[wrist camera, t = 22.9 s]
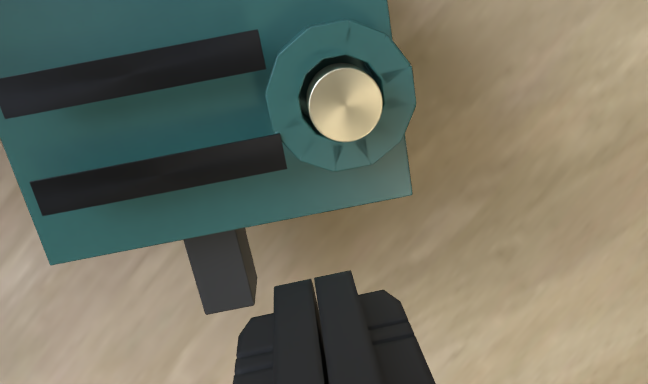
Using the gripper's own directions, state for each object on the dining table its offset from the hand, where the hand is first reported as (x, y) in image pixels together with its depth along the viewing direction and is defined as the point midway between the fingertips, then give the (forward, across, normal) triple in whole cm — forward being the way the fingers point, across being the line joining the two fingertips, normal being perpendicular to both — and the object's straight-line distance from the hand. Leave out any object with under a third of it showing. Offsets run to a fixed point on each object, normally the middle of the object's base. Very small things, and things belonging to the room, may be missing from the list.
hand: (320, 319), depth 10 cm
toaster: (+24, +3, -3) cm, 24 cm away
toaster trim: (+17, +3, -1) cm, 18 cm away
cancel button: (+11, -2, -2) cm, 11 cm away
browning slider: (+18, +5, +6) cm, 20 cm away
